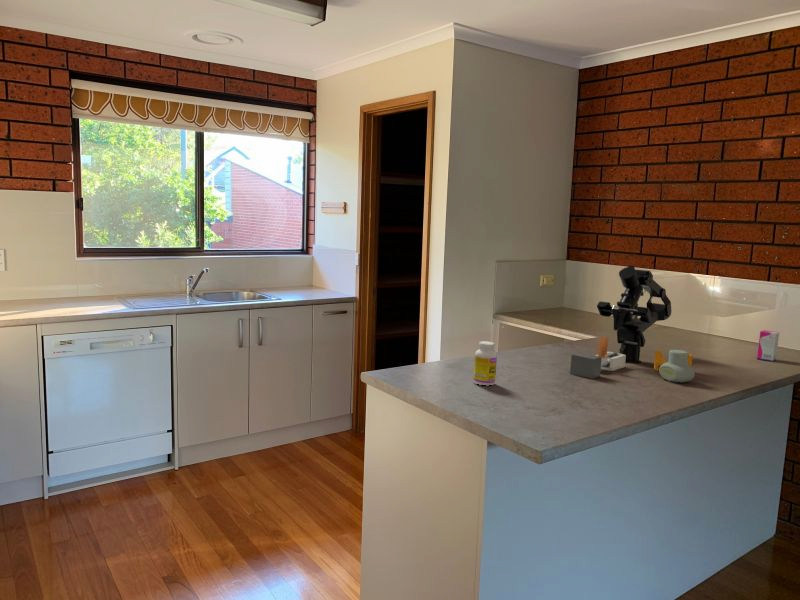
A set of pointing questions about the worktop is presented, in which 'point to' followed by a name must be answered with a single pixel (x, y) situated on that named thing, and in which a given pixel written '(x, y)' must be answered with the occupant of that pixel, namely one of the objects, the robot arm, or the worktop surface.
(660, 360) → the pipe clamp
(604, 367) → the open tray
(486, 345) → the supplement bottle
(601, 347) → the tube
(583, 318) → the worktop surface
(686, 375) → the air freshener
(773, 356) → the supplement box
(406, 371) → the worktop surface
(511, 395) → the worktop surface
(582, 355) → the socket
